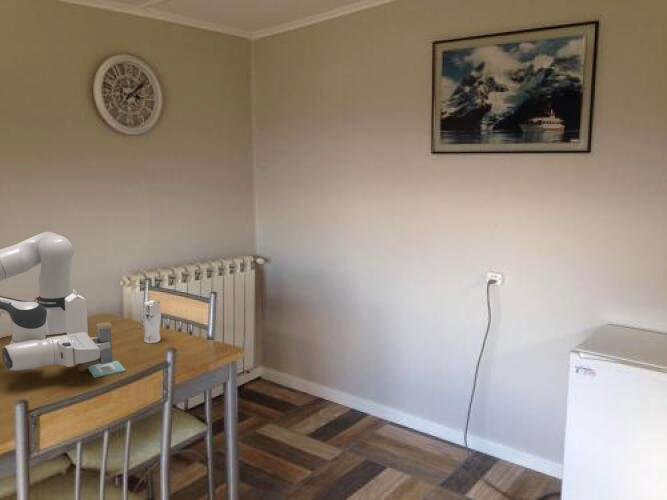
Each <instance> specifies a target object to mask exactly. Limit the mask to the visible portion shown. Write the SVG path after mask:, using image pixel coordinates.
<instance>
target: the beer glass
mask: <svg viewBox="0 0 667 500" xmlns="http://www.w3.org/2000/svg"><path fill="white" fill-rule="evenodd" d="M141 304H142V305H141V318H142V323H143V328H144V337H143V338H144V339H143V342H144V343H146V344H155V343H158V342H160V341H161V340H162V338H161V335H160V334H161V333H160V328H161V322H162V321H161V320H162V319H161V318H162V306H161V301H158V300H147V301H143V302H142V303H141Z"/></svg>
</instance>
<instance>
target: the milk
mask: <svg viewBox="0 0 667 500" xmlns="http://www.w3.org/2000/svg"><path fill="white" fill-rule="evenodd" d="M65 314H66V335H69V334H74V333H80V332H85V333H87V335H88V336H89V329H88V309H87V299H86V298H85V297H83V296H82V295H80V294H78V291H76V289H74V288H73V289H72V293H71V295H69V296H68V297H66V298H65Z"/></svg>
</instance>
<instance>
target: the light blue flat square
mask: <svg viewBox="0 0 667 500" xmlns="http://www.w3.org/2000/svg"><path fill="white" fill-rule="evenodd" d="M87 370H88V372H89V373H90V375H92V377H93V378H99V377H103V376H104V377H105V376H111V375H115V374H119V373H124V372H127V371H126V370H127V369H126V368H125V367H124V366H123V365H122V364H121V363H120V362H119V360H112V362H111V363H106V364H100V363H98V364H96V365H91V366H90V367H88V369H87Z"/></svg>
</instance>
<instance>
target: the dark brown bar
mask: <svg viewBox="0 0 667 500" xmlns="http://www.w3.org/2000/svg"><path fill="white" fill-rule="evenodd" d="M96 364H100V362H99V361H98V359H97V360H94V361H90V362H85V363H80V364H76V369H77V372H79V373H80V372H81V373H83V372H85V371H87V370H88V367H90V366H91V365H96Z"/></svg>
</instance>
